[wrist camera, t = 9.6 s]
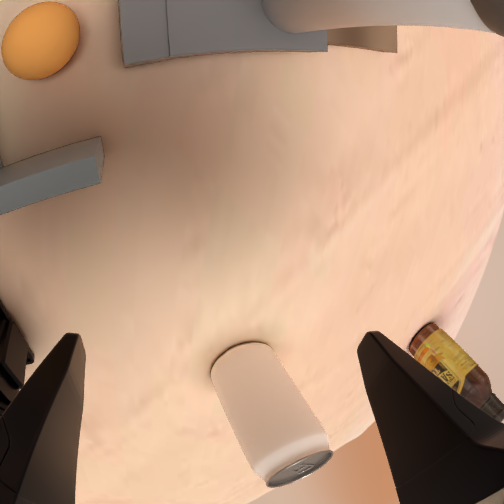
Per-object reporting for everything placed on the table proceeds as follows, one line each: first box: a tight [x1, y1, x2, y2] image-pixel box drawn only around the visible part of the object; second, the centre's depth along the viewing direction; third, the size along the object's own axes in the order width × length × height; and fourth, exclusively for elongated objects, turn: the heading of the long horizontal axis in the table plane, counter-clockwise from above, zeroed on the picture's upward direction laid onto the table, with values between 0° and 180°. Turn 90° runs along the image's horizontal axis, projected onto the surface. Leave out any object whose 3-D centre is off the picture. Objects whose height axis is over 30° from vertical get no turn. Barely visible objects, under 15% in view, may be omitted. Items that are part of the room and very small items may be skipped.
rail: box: [327, 25, 397, 53], centre depth 16 cm, size 10×4×1 cm, turn 93°
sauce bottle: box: [409, 323, 504, 422], centre depth 37 cm, size 7×6×20 cm
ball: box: [2, 2, 80, 80], centre depth 10 cm, size 4×4×4 cm
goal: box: [0, 136, 104, 215], centre depth 9 cm, size 7×14×5 cm, turn 3°
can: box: [211, 342, 333, 488], centre depth 25 cm, size 6×6×12 cm
